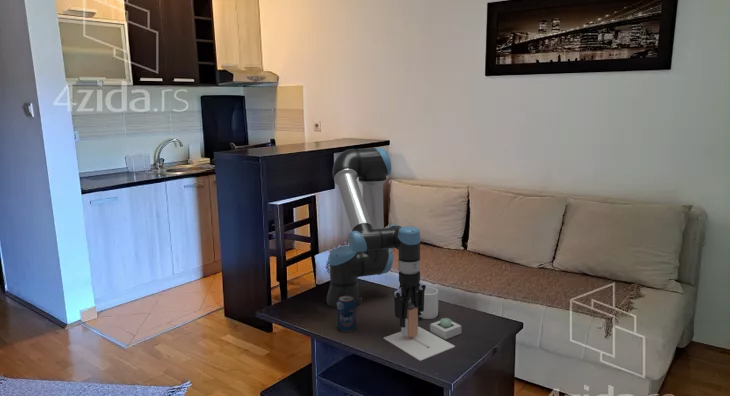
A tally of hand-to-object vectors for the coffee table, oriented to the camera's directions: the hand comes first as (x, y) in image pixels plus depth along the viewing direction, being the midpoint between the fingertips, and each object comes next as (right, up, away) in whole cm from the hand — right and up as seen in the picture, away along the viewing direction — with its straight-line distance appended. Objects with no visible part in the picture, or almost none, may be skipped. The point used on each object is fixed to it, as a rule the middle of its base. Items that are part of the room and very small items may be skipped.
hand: (409, 332), depth 181 cm
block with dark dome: (0, 0, 0) cm, 0 cm away
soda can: (-23, -1, +9) cm, 25 cm away
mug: (+7, +1, +17) cm, 19 cm away
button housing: (+13, -1, +4) cm, 14 cm away
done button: (+13, +1, +3) cm, 14 cm away
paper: (+3, -2, -4) cm, 5 cm away
